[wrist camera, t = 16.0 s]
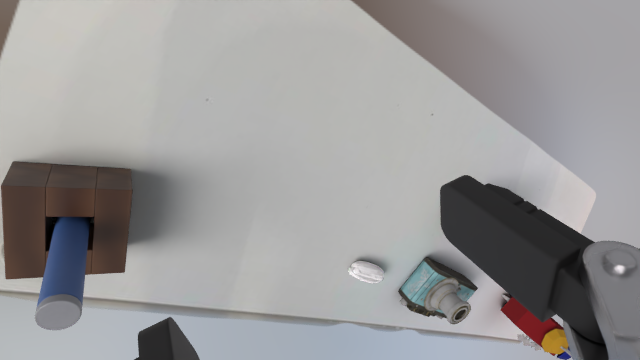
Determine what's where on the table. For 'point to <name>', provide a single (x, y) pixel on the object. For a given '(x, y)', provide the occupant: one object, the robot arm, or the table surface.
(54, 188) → the holder
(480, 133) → the table surface
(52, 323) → the handle
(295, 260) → the table surface
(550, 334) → the alarm clock
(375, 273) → the white oval lump
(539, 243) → the robot arm
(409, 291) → the camera
